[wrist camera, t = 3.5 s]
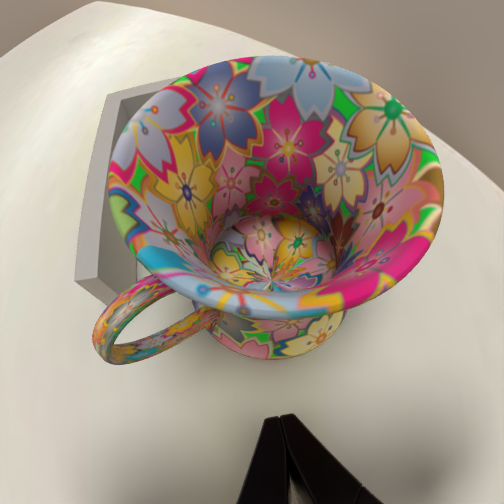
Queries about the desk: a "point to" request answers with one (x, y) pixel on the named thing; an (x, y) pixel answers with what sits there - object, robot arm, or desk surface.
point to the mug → (268, 204)
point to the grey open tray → (98, 207)
